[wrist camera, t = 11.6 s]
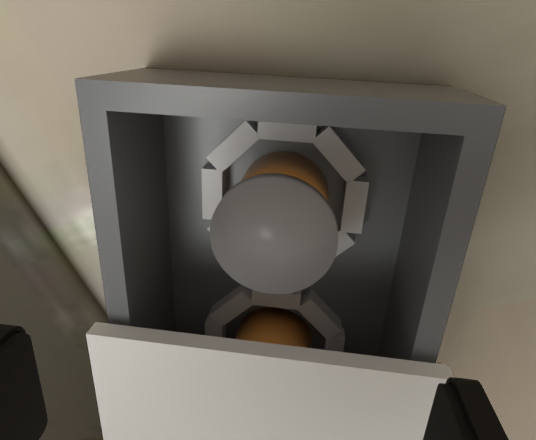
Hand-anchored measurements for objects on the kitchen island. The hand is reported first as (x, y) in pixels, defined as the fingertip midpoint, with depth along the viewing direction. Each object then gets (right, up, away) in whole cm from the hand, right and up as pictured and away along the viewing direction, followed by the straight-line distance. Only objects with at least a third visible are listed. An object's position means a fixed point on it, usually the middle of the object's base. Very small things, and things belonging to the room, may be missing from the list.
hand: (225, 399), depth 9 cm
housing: (+2, +2, +13) cm, 13 cm away
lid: (0, -10, +12) cm, 15 cm away
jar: (+2, +5, +11) cm, 12 cm away
